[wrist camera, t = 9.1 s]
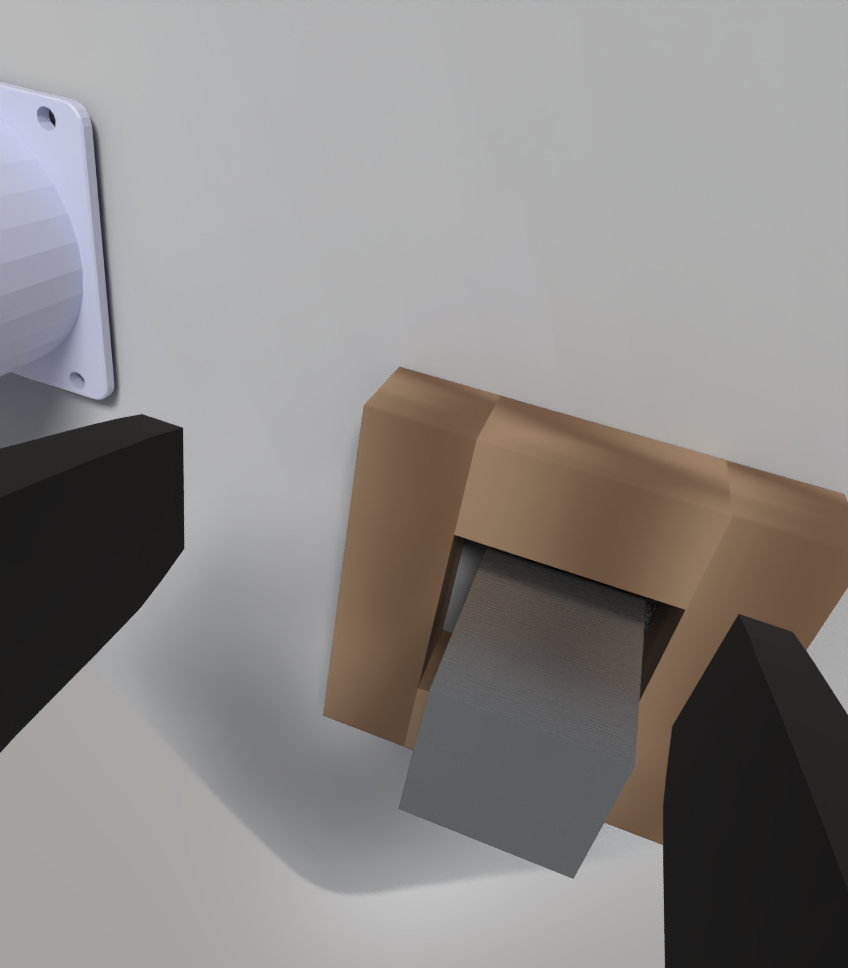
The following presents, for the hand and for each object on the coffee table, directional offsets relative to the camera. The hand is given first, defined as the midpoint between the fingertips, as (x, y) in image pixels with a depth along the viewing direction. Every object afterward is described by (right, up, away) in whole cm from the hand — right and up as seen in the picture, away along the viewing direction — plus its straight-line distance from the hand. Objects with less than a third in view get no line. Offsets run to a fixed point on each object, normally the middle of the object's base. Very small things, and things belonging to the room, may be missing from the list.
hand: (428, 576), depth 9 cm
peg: (+4, -2, +11) cm, 12 cm away
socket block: (+4, -2, +11) cm, 12 cm away
